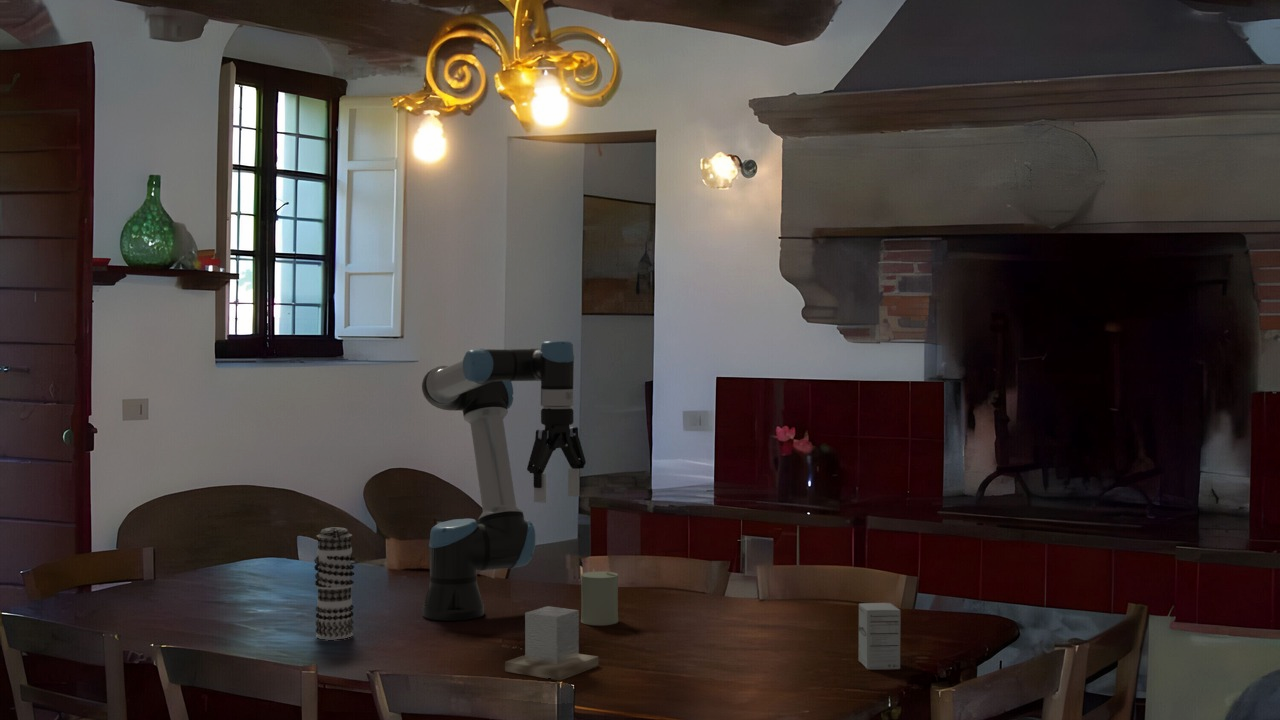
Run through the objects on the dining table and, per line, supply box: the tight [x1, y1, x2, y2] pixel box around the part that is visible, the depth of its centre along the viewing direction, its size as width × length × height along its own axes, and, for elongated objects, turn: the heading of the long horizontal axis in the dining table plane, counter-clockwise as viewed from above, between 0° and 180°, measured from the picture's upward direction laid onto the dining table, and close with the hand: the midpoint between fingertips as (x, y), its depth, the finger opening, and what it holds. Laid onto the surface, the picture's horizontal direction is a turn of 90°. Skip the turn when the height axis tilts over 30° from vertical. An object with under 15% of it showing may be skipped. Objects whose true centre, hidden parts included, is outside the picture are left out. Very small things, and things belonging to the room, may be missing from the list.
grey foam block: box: [524, 605, 580, 666], centre depth 279 cm, size 8×8×10 cm
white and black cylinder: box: [313, 526, 356, 639], centre depth 309 cm, size 9×9×25 cm
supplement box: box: [858, 602, 902, 671], centre depth 283 cm, size 7×7×13 cm
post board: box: [504, 653, 599, 682], centre depth 279 cm, size 14×14×9 cm
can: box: [580, 570, 619, 627], centre depth 326 cm, size 9×9×12 cm
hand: (557, 499), depth 310 cm, fingers open, 13 cm apart
